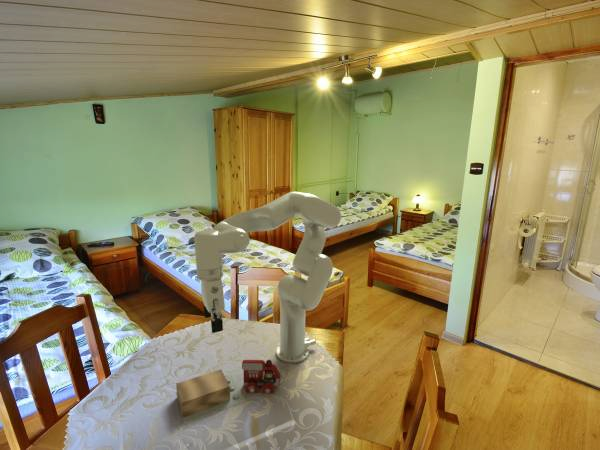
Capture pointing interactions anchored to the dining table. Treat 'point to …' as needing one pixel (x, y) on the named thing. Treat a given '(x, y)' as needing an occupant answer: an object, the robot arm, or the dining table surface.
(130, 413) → the dining table surface
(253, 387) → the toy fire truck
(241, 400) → the build plate
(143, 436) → the dining table surface
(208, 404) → the base brick
